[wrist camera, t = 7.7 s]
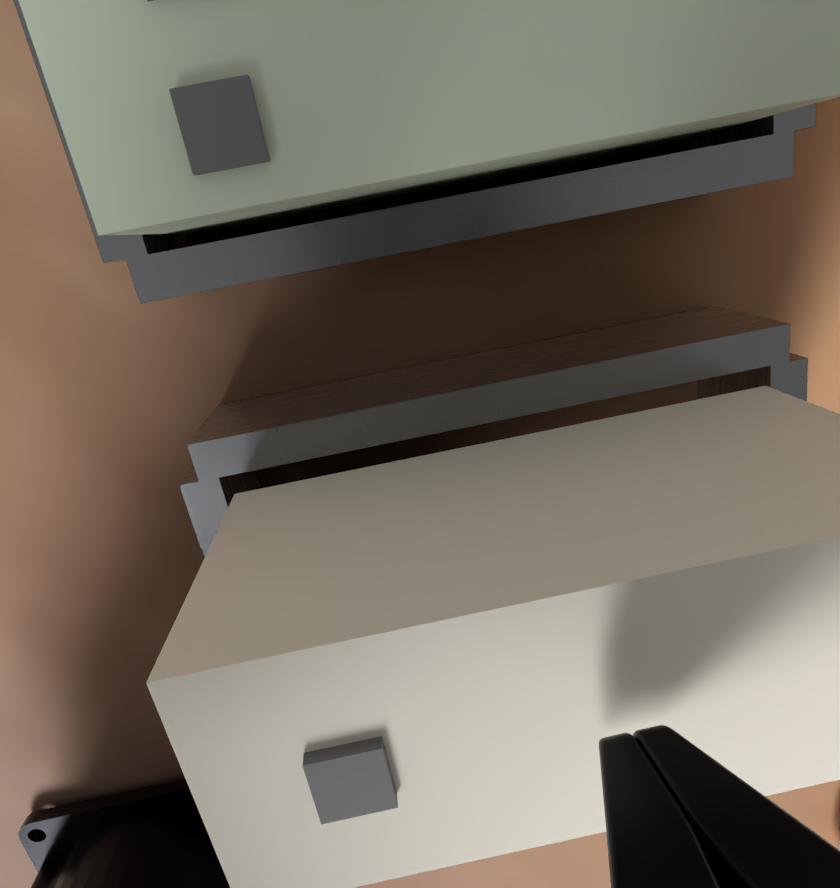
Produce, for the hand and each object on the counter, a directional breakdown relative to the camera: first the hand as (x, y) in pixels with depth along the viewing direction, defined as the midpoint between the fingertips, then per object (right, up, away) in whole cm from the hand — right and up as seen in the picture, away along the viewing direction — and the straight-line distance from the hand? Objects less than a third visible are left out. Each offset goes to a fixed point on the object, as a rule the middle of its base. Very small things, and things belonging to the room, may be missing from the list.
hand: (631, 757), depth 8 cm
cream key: (-1, +2, +6) cm, 6 cm away
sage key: (-2, +11, +6) cm, 13 cm away
